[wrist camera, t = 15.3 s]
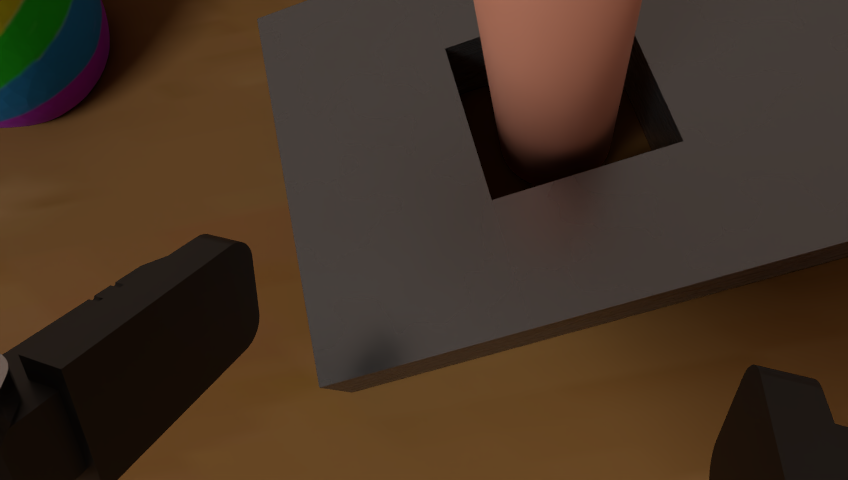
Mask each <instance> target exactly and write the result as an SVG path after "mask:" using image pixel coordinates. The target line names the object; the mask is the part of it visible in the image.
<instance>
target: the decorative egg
mask: <svg viewBox="0 0 848 480" xmlns="http://www.w3.org/2000/svg"><path fill="white" fill-rule="evenodd" d="M109 49H110V35H109V26H108V20H107V16H106V12H105V8H104V5H103V2H102V0H0V128H7V127H21V126H30V125H35V124H39V123H43V122H47V121H50V120H52V119H55V118H57V117H59V116H61V115H63V114H64V113H66V112H67V111H69V110H70V109H72V108H73V107H75V106H76V105H77V104H78V103H79V102H81V101H82V100H83V99H84V98H85V97H86V96H87V95H88V94H89V92H90V91H91V90H92V89H93V87H94V86H95V84H96V83H97V81H98V80H99V78H100V76H101V74H102V72H103V70H104V68H105V65H106V62H107V59H108V55H109Z"/></svg>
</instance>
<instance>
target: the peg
mask: <svg viewBox="0 0 848 480" xmlns="http://www.w3.org/2000/svg"><path fill="white" fill-rule="evenodd" d="M473 1H474V7H475V12H476V17H477V23H478V28H479V34H480V39H481V45H482V50H483V55H484V61H485V66H486V72H487V77H488V82H489V88H490V93H491V99H492V104H493V110H494V115H495V120H496V126H497V131H498V137H499V142H500V147H501V152H502V155H503V157H504V160H505V162H506V163H507V165H508V166H509V168H510V169H511V170H512V171H513V172H514V173H515V174H516V175H517V176H519V177H520V178H521V179H523V180H525V181H527V182H529V183H531V184H534V185H537V186H539V185H543V184H546V183H549V182H552V181H556V180H559V179H562V178H565V177H569V176H572V175H575V174H578V173H582V172H585V171H588V170H591V169H595V168H598V167H600V166H601V165H602V164H603V162H604V161H605V159H606V157H607V155H608V153H609V150H610V146H611V142H612V137H613V133H614V128H615V123H616V119H617V114H618V110H619V105H620V100H621V96H622V91H623V86H624V82H625V77H626V73H627V68H628V63H629V59H630V54H631V49H632V45H633V40H634V36H635V31H636V26H637V22H638V17H639V12H640V8H641V3H642V0H473Z"/></svg>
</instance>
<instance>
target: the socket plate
mask: <svg viewBox="0 0 848 480" xmlns="http://www.w3.org/2000/svg"><path fill="white" fill-rule="evenodd" d="M257 21H258V27H259V33H260V39H261V44H262V50H263V56H264V62H265V68H266V74H267V80H268V86H269V92H270V98H271V104H272V110H273V115H274V121H275V127H276V133H277V139H278V145H279V151H280V157H281V163H282V169H283V175H284V180H285V186H286V192H287V198H288V204H289V210H290V216H291V222H292V228H293V234H294V240H295V246H296V251H297V257H298V263H299V269H300V275H301V281H302V287H303V293H304V299H305V305H306V311H307V316H308V322H309V328H310V334H311V340H312V346H313V352H314V358H315V364H316V370H317V376H318V382H319V387H320V388H325V389H332V390H339V391H346V392H355V391H359V390H363V389H366V388H370V387H374V386H377V385H381V384H385V383H388V382H392V381H395V380H399V379H403V378H406V377H410V376H414V375H417V374H421V373H425V372H428V371H432V370H436V369H439V368H443V367H447V366H450V365H454V364H458V363H461V362H465V361H469V360H472V359H476V358H479V357H483V356H487V355H490V354H494V353H498V352H501V351H505V350H509V349H512V348H516V347H520V346H523V345H527V344H531V343H534V342H538V341H542V340H545V339H549V338H553V337H556V336H560V335H564V334H567V333H571V332H574V331H578V330H582V329H585V328H589V327H593V326H596V325H600V324H604V323H607V322H611V321H615V320H618V319H622V318H626V317H629V316H633V315H637V314H640V313H644V312H648V311H651V310H655V309H658V308H662V307H666V306H669V305H673V304H677V303H680V302H684V301H688V300H691V299H695V298H699V297H702V296H706V295H710V294H713V293H717V292H721V291H724V290H728V289H732V288H735V287H739V286H743V285H746V284H750V283H753V282H757V281H761V280H764V279H768V278H772V277H775V276H779V275H783V274H786V273H790V272H794V271H797V270H801V269H805V268H808V267H812V266H816V265H819V264H823V263H827V262H830V261H834V260H838V259H841V258H845V257H848V0H642V3H641V8H640V12H639V17H638V22H637V26H636V31H635V36H634V40H633V45H632V49H631V54H630V59H629V63H628V68H627V73H626V77H625V82H624V87H625V89H626V92H627V94H628V96H629V99H630V101H631V103H632V106H633V108H634V110H635V113H636V115H637V117H638V119H639V122H640V124H641V126H642V129H643V131H644V133H645V136H646V138H647V140H648V143H649V145H650V147H651V149H652V151H650V152H647V153H643V154H640V155H637V156H634V157H630V158H627V159H624V160H621V161H617V162H614V163H611V164H608V165H604V166H601V167H598V168H595V169H591V170H588V171H585V172H582V173H578V174H575V175H572V176H569V177H565V178H562V179H559V180H556V181H552V182H549V183H546V184H543V185H539V186H536V187H533V188H530V189H526V190H523V191H520V192H517V193H513V194H510V195H507V196H504V197H500V198H497V199H494V200H492V199H491V196H490V193H489V190H488V186H487V183H486V180H485V177H484V173H483V170H482V167H481V164H480V161H479V157H478V154H477V151H476V148H475V144H474V141H473V138H472V135H471V131H470V128H469V125H468V122H467V118H466V115H465V112H464V109H463V105H462V102H461V99H460V96H459V94H461V93H464V92H467V91H470V90H473V89H476V88H479V87H482V86H485V85H488V84H489V82H488V77H487V72H486V66H485V61H484V55H483V50H482V45H481V39H480V34H479V28H478V23H477V17H476V12H475V7H474V1H473V0H307V1H305V2H302V3H299V4H296V5H294V6H291V7H288V8H286V9H283V10H280V11H277V12H275V13H272V14H269V15H266V16H264V17H261V18H258V19H257Z"/></svg>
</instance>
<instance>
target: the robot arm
mask: <svg viewBox="0 0 848 480" xmlns="http://www.w3.org/2000/svg"><path fill="white" fill-rule="evenodd" d="M258 325H259V308H258V300H257V291H256V283H255V275H254V267H253V259H252V253H251V250H250V248H249V247H248V246H247V245H246V244H245V243H243V242H239V241H234V240H230V239H226V238H222V237H217V236H213V235H209V234H203V235H200V236H198V237H196V238H194V239H193V240H191V241H190V242H188V243H187V244H185V245H184V246H182V247H181V248H179V249H178V250H176V251H175V252H173V253H172V254H170V255H169V256H166V257H164V258H161V259H158V260H155V261H153V262H150V263H147V264H145V265H142V266H140V267H138V268H137V269H135V270H134V271H132V272H131V273H129V274H128V275H126V276H124V277H123V278H121V279H120V280H118V281H117V282H116V284H115V286H109V287H107V288H106V289H104V290H103V291H101V292H100V293H98V294H96V295H95V296H94V299H93V300H87V301H86V302H84V303H82V304H81V305H79V306H78V307H76V308H75V309H73V310H72V311H70V312H68V313H67V314H65V315H64V316H62V317H61V318H59V319H57V320H56V321H54V322H53V323H51V324H50V325H48V326H47V327H45V328H43V329H42V330H40V331H39V332H37V333H36V334H34V335H33V336H31V337H29V338H28V339H26V340H25V341H23V342H22V343H20V344H19V345H17V346H15V347H14V348H12V349H11V350H9V351H8V352H6V353H4V354H3V355H1V354H0V480H118V479H119V478H120V477H121V476H122V475H123V474H124V473H125V472H126V471H127V470H128V468H129V467H130V466H131V465H132V464H133V463H134V462H135V461H136V460H137V459H138V458H139V457H140V456H141V455H142V454H143V453H144V452H145V451H146V450H147V449H148V448H149V447H150V446H151V445H152V444H153V443H154V442H155V441H156V440H157V439H158V438H159V437H160V436H161V435H162V434H163V433H164V432H165V431H166V430H167V429H168V428H169V427H170V426H171V425H172V424H173V423H174V422H175V421H176V420H177V419H178V418H179V417H180V416H181V415H182V414H183V413H184V412H185V411H186V410H187V409H188V408H189V407H190V406H191V405H192V404H193V403H194V402H195V401H196V400H197V399H198V398H199V397H200V396H201V395H202V394H203V393H204V392H205V391H206V390H207V389H208V388H209V387H210V386H211V385H212V384H213V383H214V382H215V381H216V380H217V379H218V378H219V377H220V375H221V374H222V373H223V372H224V371H225V370H226V369H227V368H228V367H229V366H230V365H231V364H232V363H233V362H234V361H235V360H236V359H237V358H238V357H239V356H240V355H241V354H242V353H243V352H244V351H245V350H246V349H247V348H248V347H249V345H250V344H251V343H252V341H253V339H254V337H255V335H256V332H257V329H258ZM709 480H848V427H845V426H841V425H837V424H835V423H834V420H833V417H832V415H831V412H830V409H829V406H828V404H827V401H826V398H825V395H824V393H823V390H822V387H821V385H820V384H819V382H818V381H817V380H815V379H812V378H808V377H804V376H799V375H795V374H791V373H787V372H783V371H778V370H774V369H770V368H766V367H761V366H757V365H751V366H750V367H749V368H748V369H747V370H746V372H745V374H744V376H743V378H742V380H741V383H740V385H739V388H738V390H737V392H736V395H735V397H734V399H733V402H732V404H731V407H730V409H729V411H728V414H727V416H726V419H725V421H724V423H723V426H722V428H721V431H720V433H719V435H718V438H717V440H716V443H715V446H714V449H713V454H712V459H711V465H710V476H709Z"/></svg>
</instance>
